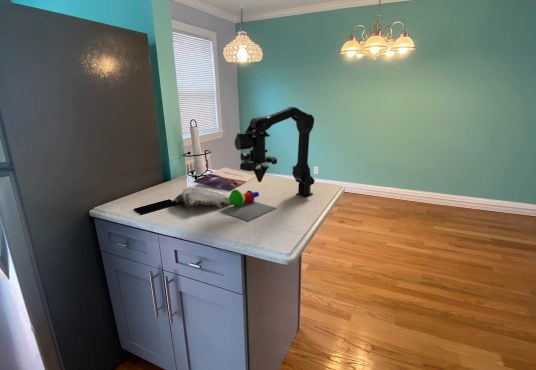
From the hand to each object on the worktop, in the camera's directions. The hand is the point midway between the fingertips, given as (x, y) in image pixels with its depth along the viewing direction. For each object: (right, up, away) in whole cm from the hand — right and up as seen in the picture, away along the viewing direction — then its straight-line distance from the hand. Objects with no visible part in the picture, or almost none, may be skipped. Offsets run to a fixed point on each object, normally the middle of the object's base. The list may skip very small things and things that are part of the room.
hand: (259, 181), depth 135 cm
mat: (-5, -12, -2) cm, 14 cm away
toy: (-2, -5, +8) cm, 10 cm away
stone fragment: (-28, -10, +8) cm, 31 cm away
